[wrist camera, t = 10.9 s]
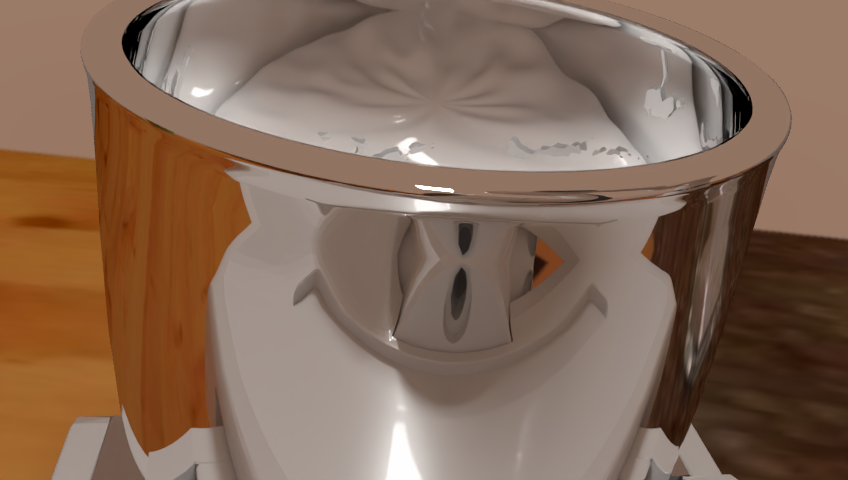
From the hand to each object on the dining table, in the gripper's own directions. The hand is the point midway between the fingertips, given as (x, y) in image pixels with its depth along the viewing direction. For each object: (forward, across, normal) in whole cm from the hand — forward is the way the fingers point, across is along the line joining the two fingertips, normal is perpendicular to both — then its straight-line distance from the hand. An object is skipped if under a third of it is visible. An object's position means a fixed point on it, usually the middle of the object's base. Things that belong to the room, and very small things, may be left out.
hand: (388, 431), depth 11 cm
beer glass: (-1, 0, +8) cm, 9 cm away
